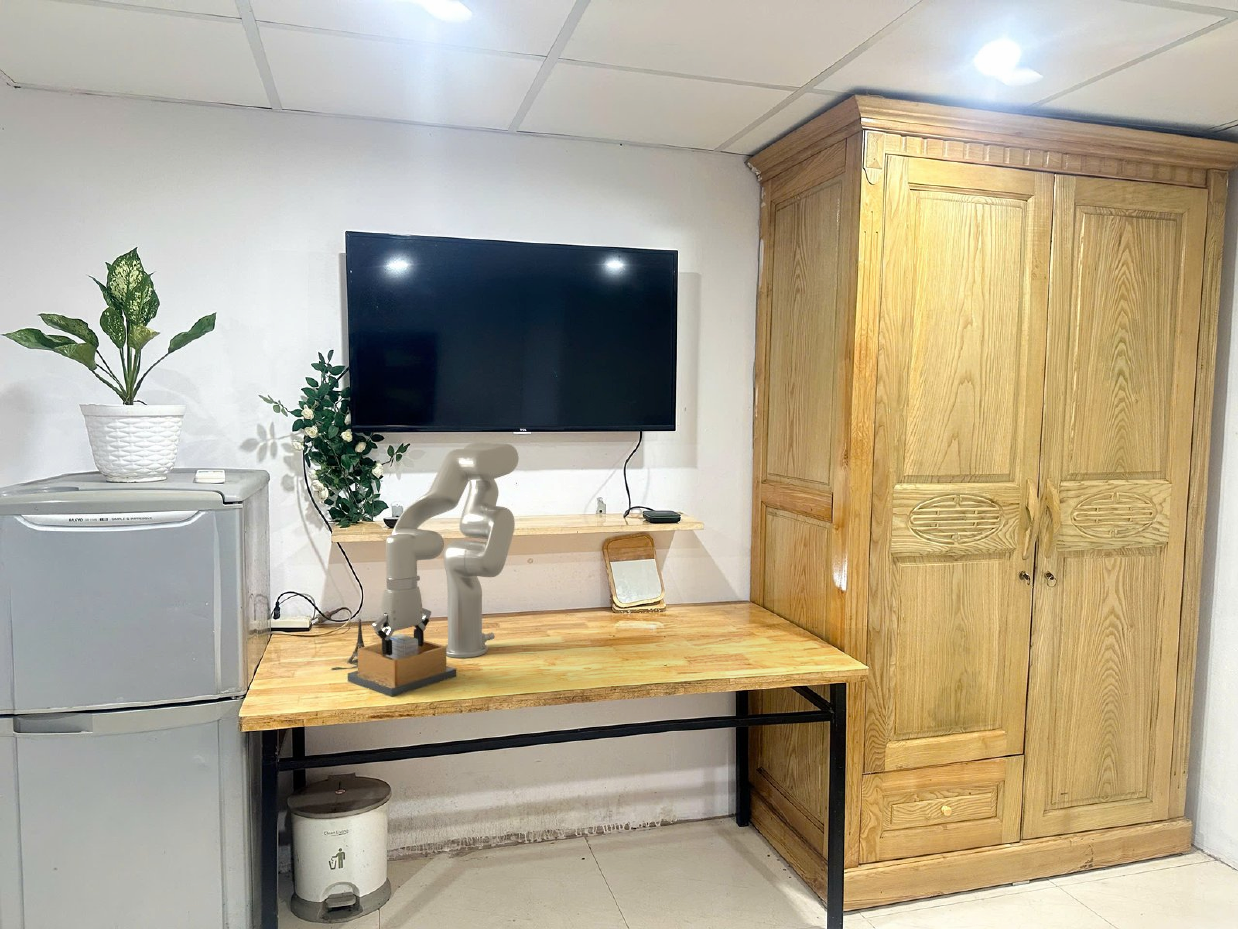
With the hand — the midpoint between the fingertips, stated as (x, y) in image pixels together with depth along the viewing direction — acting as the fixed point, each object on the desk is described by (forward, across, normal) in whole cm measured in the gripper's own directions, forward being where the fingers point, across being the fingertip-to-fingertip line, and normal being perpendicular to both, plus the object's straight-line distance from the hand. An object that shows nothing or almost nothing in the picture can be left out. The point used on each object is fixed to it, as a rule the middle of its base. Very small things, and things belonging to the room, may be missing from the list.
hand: (403, 649), depth 218 cm
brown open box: (+7, 0, 0) cm, 7 cm away
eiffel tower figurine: (+8, -1, -20) cm, 22 cm away
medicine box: (+6, +1, 0) cm, 6 cm away
